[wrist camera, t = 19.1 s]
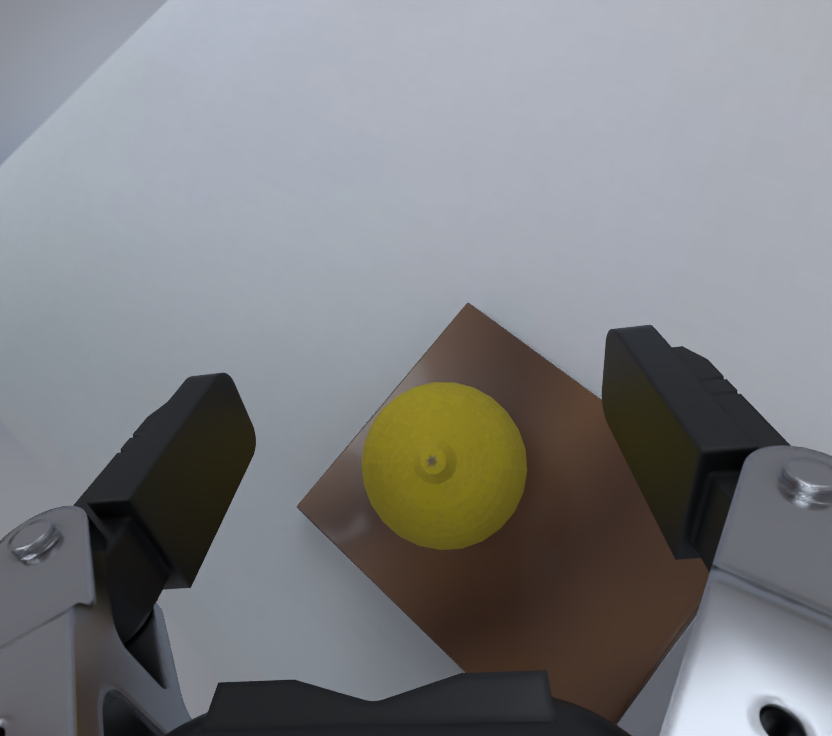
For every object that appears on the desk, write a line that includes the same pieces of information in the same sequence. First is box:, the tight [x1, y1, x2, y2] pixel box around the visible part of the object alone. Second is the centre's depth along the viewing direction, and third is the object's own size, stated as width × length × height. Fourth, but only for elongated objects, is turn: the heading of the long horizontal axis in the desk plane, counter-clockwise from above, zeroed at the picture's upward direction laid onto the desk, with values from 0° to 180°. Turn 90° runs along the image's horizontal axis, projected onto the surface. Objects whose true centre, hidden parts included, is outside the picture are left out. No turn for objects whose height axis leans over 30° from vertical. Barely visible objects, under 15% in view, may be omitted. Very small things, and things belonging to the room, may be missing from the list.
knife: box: [613, 605, 700, 736], centre depth 17 cm, size 12×2×1 cm, turn 140°
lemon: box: [361, 382, 527, 550], centre depth 16 cm, size 6×6×8 cm
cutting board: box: [297, 303, 709, 722], centre depth 19 cm, size 18×12×2 cm, turn 50°
